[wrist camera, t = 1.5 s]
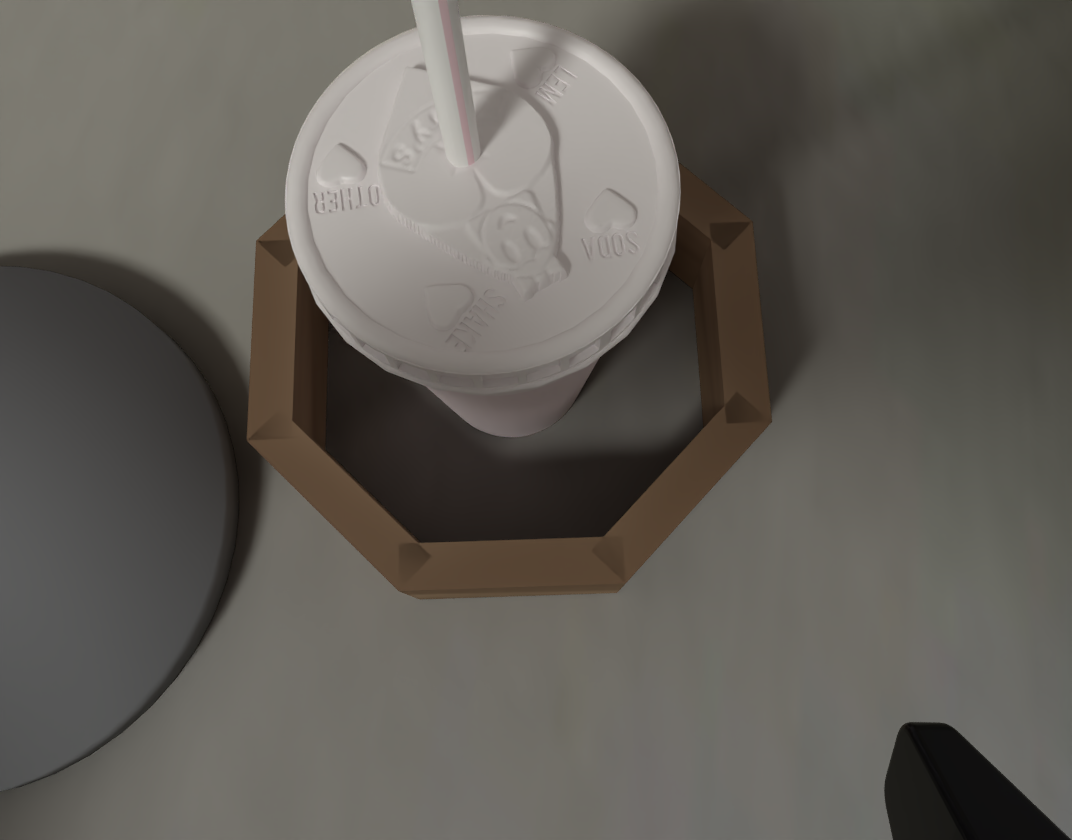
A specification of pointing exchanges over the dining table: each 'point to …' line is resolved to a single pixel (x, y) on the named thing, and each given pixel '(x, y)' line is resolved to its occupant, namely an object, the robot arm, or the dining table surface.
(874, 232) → the dining table surface
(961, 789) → the robot arm
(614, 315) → the smoothie
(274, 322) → the brown octagonal holder
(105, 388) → the rubber mat
